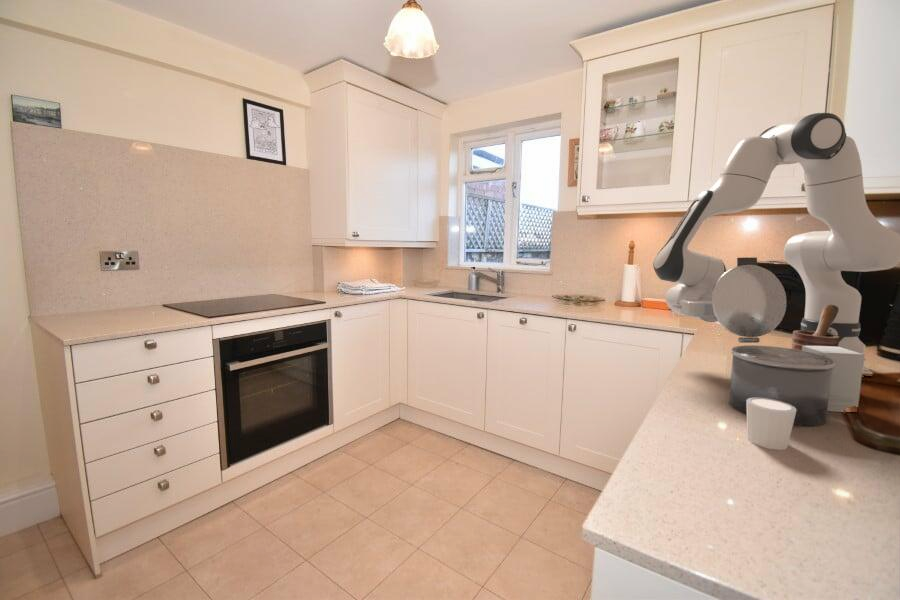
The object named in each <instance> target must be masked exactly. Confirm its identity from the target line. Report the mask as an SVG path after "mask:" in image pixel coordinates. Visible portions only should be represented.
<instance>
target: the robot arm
mask: <svg viewBox="0 0 900 600" xmlns="http://www.w3.org/2000/svg"><path fill="white" fill-rule="evenodd" d="M791 164H792V165H793V164H799V165H800V166H802V169H803V173H804V174H803V176H804V189H805V199H806V209H807V212H808V214H809V215H810V216H811V217H813V218H815V219H817V220H819V221H822V222H823V223H825V224H826V226H828V228H829V229H830V230H820V231H819V230H816V231H815V230H814V231H809V232H803V233H799V234H795V235H793V236H791V237H790V238H789V239H788V240H787V242H786V243H785V245H784V248H783V257H784V259H785V261H786V263H788V265H790V266H791V267H792V268H793V269H794V270H795V271H796V272H797V273H798V274H799V276H800V278H801V280H802V282H803V285H804V286H803V287H804V288H805V289H804V290H805V305H804V306H805V307H804V317H802V319H801V322H800V330H804V331H816V330H817V327H818V324H819V321H820V317H821V313H822V310H823V308H824V307H825V306H826V305H835V306H837V307H838V308H839V310H838V313H837V316H836V318H835V319H834V321H833V322H832V323H831V326H830V327H829V329H828V333H829V334H833V335H837V336H839V345H838V347H841V348H844V349H848V350H851V351H854V352H858V353H861V354H864V362H863V370H862V373H869V374H873V375H874V373H873V371H871V370H870V369H869V368H867V367H866V366H865V361H866V359H865V356H866V344H864V343H863V341H861V340H860V338H859V336H860V332H861V323H860V314H861V313H860V312H861V307H862V306H861V305H862V295H861V293H860V292H859V290H858V289H856V288H855V287H853V286H851V285H849V284H847V282H846V281H845V280H844V279H843V277H842V274H841V273H842V272H844V271H845V272H863V273H866V272H877V271H883V270H884V271H885V270H890V269H893V268H895V267H896V266H898V264H899V263H900V234H899V233H898V232H896V231H895V230H892V229H890V228H888V226H887V227H886V226H885V225H884V224H882V223H881V222H880V221H879V220H878V219H877V218H876V217H875V216H874V215H873V213H872V211H871V210H870V209H869V205H868V204H867V200H866V194H865V189H864V188H865V187H864V180H863V179H864V178H863V170H862V169H863V168H862V161H861V157H860V153H859V150H858V146H857V144H856V142H855V140H854V139H853V138H852V137H851V136H847V133H846V128H845V124H844V122H843V121H842V120H841V118H840V117H839V116H838V115H836V114H834V113H831V112H817V113H816V112H815V113H811V114H808V115H805V116H800V117H799V116H798V117H796V118H792V119H788V120H787V121H785V122H782V123H780V124H778V125H774V126H771V127H769V128H767V129H765V130H764V131H763V132H761V133H760V134H759V135H756V136H749V137H746V138H744V139H742V140H740V142H737V144H736V146H735V147H734V148H733V150H732V152H731V153H730V155H729V156H728V158H727V160H726V162H725V164H724V165H723V168H722V169H721V172H720V175H719V176H718V178H717V180H716V182H715V183H714V184H713V186H712V187H710V188H709V190H704V191H701V192H700V193H699V194H698V195H697V196H696V197H695V198H694V200H693V201H692V203H691V204H690V206H689V207H688V209H687V210H686V211H685V213H684V215H683V216H682V218H681V219H680V221H679V223H678V224H677V226H676V228H675V229H674V231H673V232H672V234H671V236H670V237H669V239H668V240H667V241H666V243H665V244H664V246H663V247H662V248H661V249H660V250H659V252H658V253H657V254H656V256H655V258H654V259H653V263H652V264H653V267H652V268H653V270H654V272H655V274H656V276H657V277H658V278H659V279H660V281H665V282H670V283H675V284H676V283H677V284H676V285H673V286H672V287H670V288H669V289H667V291H666V293H665V298H664V299H665V303H666V305H667V307H668V308H669V309H670V310H672V311H673V312H674V313H676V314H679V315H682V316H684V317H688V318H693V319H696V320H698V321H703V322H706V323H716V322H718V320H717V319H716V317H715V315H714V312H713V309H712V304H711V296H712V291H713V287H714V285H715V283H716V281H717V280H718V279H719V277H720V276H721V275H722V274H723V273H725V272H726V271H727V267H726V264H725V263H724V261H723V260H722V259H720V258H718V257H714V256H711V255H708V254H704V253H700V252H697V251H694V250H690V249H688V246H689V245H690V243H691V241H692V240H693V238H694V237H695V235H696V233H697V232H698V230H699V229H700V227H701V226H702V224H703V223H704V222H705V221H706V220H707V219H708V218H710V217H713V216H716V215H727V214H736V213H741V212H744V211H746V210H748V209H750V208H752V207H753V206H755V205H756V204H757V203H758V201H759V200H760V199H761V197H762V196H763V193H764V192H765V189H766V187H767V185H768V182H769V180H770V178H771V176H772V173H773V171H774V170H775V168H776V167H777V166H781V165H784V166H785V165H791Z"/></svg>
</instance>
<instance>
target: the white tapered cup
mask: <svg viewBox="0 0 900 600" xmlns="http://www.w3.org/2000/svg"><path fill="white" fill-rule="evenodd" d="M746 402H747V415H746V437H747V441H750V442H751V443H752V444H754V445H756V446H758V447H762V448H766V449H769V450H770V449H771V450H774V451H775V450H777V451H778V450H780V451H782V450H786V449H787V448H788V447H789V443H790V438H791V435H792V430H793V427H794V426H793V423H794V419H795V414H796V408H795V407H794V406H792V405H790V404H787V403H784V402H781V401H777V400H773V399H767V398H749V399H747V400H746Z"/></svg>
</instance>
